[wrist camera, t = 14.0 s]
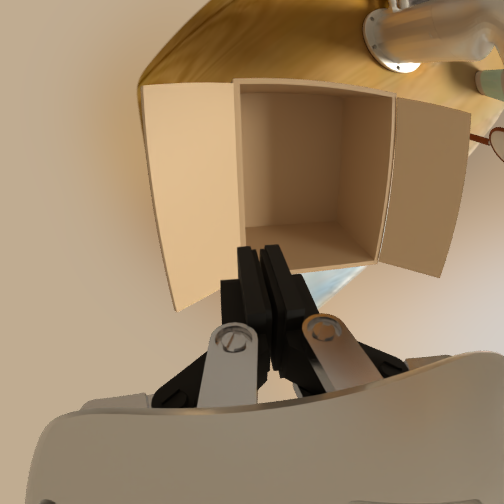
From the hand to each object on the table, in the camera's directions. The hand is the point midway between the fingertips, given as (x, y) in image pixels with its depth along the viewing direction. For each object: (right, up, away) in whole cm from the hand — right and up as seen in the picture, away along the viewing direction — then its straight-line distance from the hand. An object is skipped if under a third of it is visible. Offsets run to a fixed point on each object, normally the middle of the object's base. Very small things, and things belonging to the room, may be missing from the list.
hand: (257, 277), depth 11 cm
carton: (+5, +15, +29) cm, 33 cm away
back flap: (+20, +8, +15) cm, 26 cm away
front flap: (-5, +6, +13) cm, 15 cm away
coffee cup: (+50, +38, +23) cm, 67 cm away
